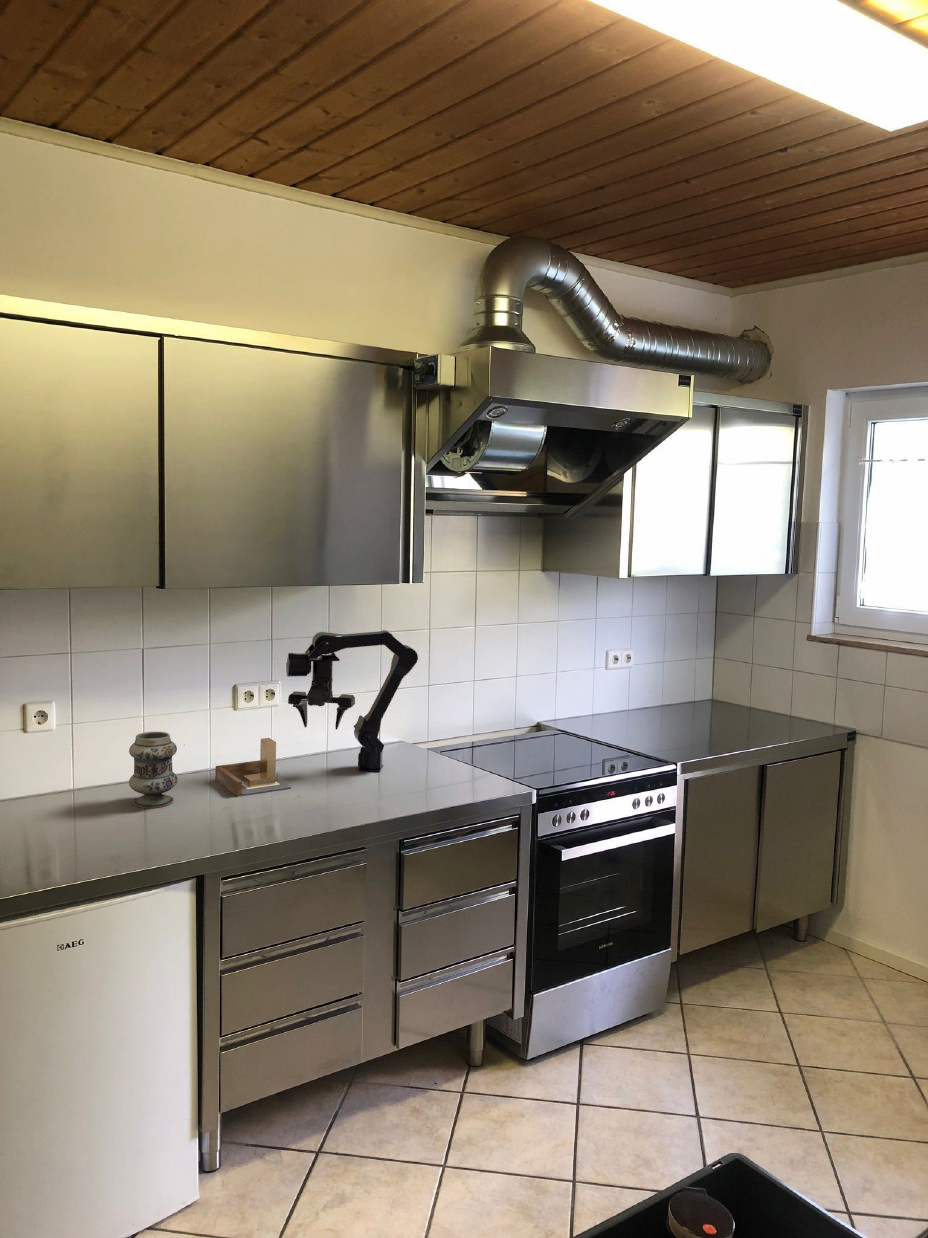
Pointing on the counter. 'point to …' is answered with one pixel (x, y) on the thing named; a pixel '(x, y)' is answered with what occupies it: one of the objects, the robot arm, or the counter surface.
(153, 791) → the apothecary jar
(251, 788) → the mat
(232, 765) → the corner walls
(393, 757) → the counter surface
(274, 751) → the wooden l-shaped block
